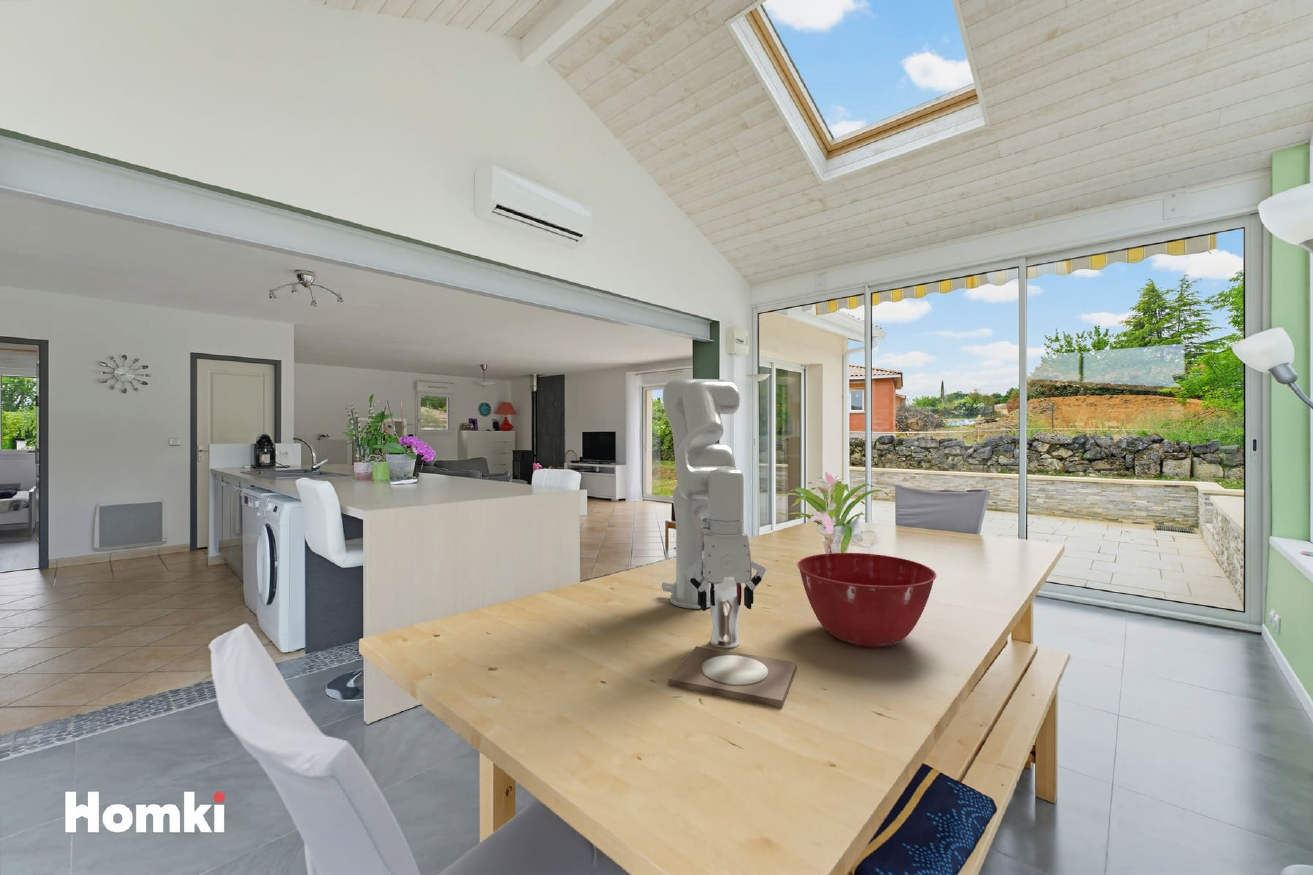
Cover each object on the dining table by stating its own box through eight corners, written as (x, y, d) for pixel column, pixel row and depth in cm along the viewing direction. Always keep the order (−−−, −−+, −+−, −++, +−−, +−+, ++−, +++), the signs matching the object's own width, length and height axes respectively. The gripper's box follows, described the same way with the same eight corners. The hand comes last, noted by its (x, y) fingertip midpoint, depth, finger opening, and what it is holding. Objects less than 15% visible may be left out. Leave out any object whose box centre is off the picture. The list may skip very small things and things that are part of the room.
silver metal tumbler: (744, 639, 120) (744, 570, 119) (737, 651, 113) (738, 578, 113) (712, 635, 122) (712, 567, 122) (704, 646, 115) (705, 575, 115)
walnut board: (668, 685, 98) (668, 677, 98) (696, 651, 113) (696, 644, 113) (782, 707, 90) (782, 698, 90) (796, 668, 105) (796, 660, 105)
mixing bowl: (861, 673, 103) (862, 590, 103) (771, 623, 129) (771, 557, 129) (966, 649, 115) (967, 575, 114) (863, 608, 141) (864, 548, 140)
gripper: (688, 531, 112) (688, 615, 112) (770, 529, 114) (770, 612, 114) (682, 525, 120) (682, 604, 120) (759, 523, 122) (759, 601, 122)
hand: (725, 608), depth 117 cm, fingers open, 9 cm apart
